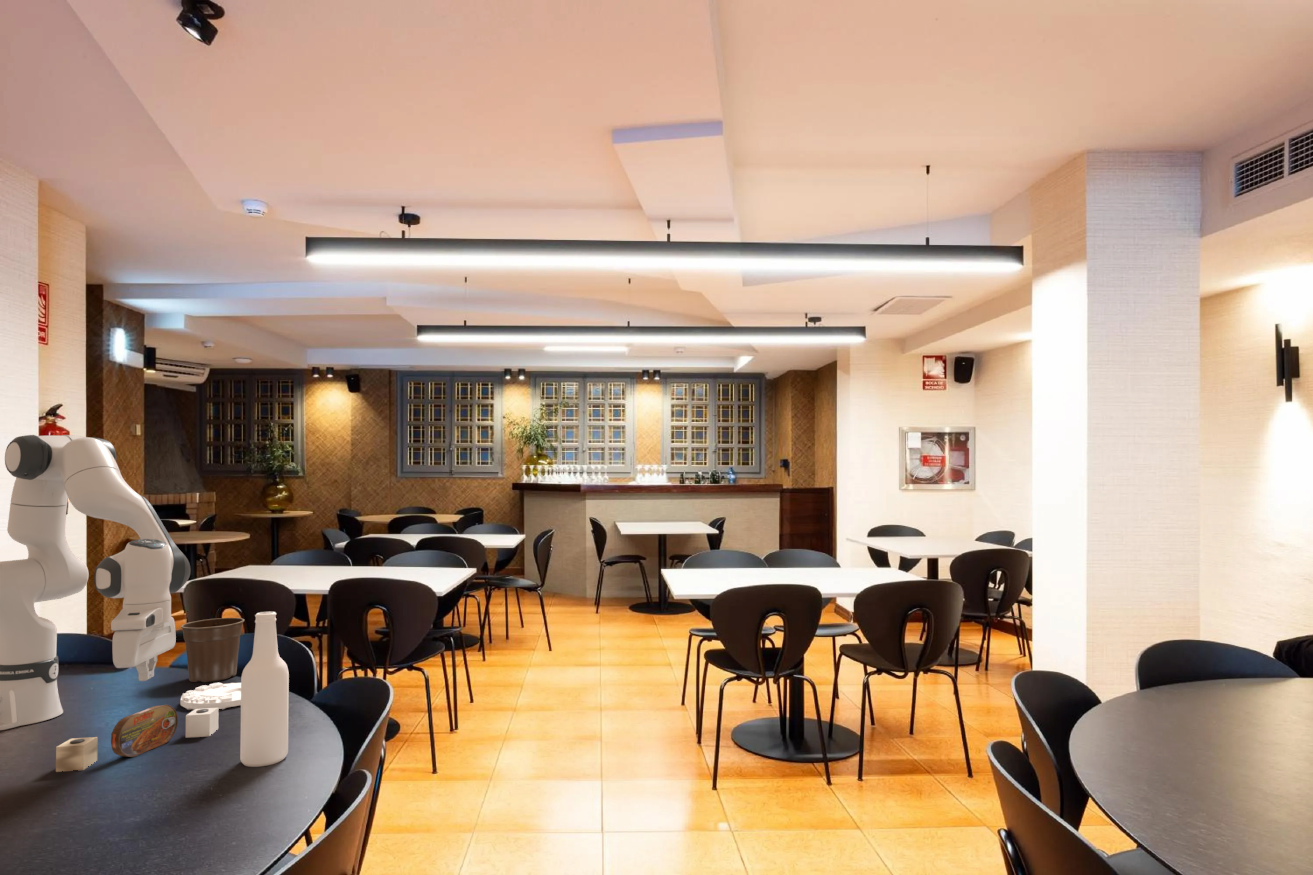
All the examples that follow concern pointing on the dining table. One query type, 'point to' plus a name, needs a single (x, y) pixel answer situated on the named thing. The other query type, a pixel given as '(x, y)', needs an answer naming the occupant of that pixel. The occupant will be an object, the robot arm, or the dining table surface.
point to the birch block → (76, 754)
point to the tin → (144, 731)
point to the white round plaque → (212, 696)
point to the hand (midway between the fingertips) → (146, 679)
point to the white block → (202, 722)
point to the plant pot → (212, 648)
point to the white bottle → (264, 699)
